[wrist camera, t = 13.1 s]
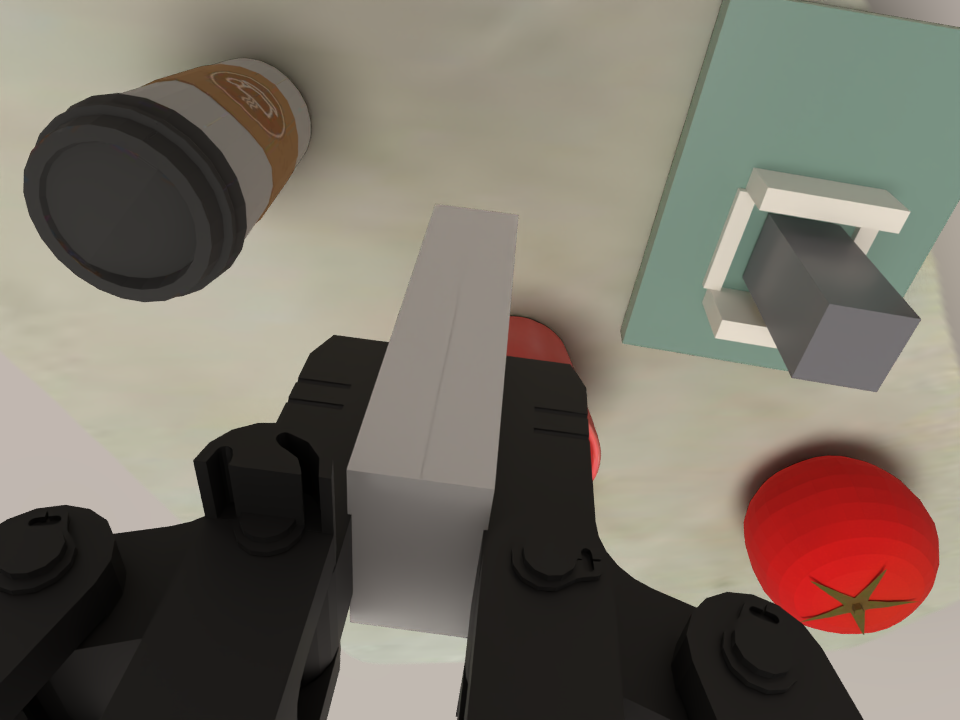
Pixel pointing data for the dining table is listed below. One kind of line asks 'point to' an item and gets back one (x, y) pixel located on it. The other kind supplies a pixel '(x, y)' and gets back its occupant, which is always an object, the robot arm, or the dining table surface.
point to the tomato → (841, 545)
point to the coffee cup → (165, 176)
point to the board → (798, 163)
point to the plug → (827, 304)
